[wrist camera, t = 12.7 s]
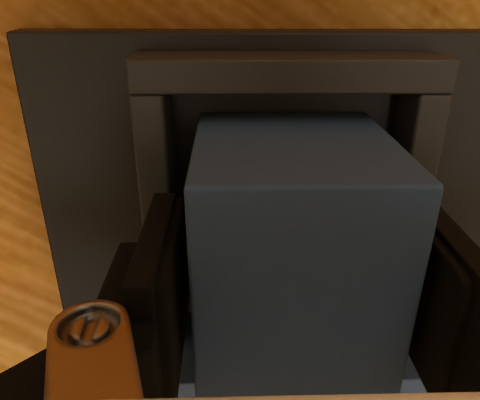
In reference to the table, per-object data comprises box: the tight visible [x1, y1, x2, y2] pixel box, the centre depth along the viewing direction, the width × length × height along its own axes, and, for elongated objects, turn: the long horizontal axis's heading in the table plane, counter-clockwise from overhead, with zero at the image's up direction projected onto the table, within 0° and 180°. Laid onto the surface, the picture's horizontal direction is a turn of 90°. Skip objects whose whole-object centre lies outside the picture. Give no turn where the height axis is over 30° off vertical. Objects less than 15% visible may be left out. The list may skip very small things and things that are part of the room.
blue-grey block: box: [184, 112, 444, 397], centre depth 11 cm, size 6×4×5 cm
